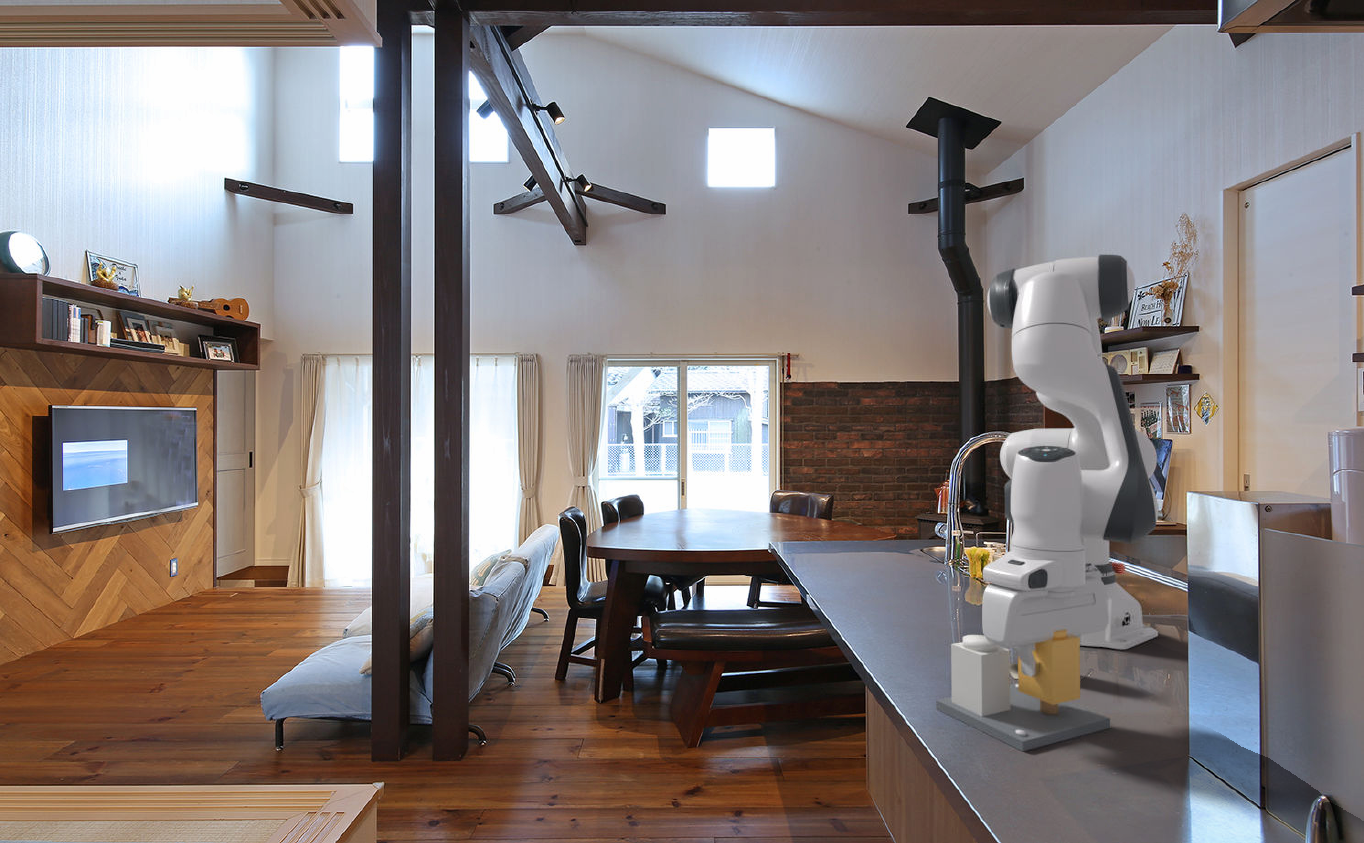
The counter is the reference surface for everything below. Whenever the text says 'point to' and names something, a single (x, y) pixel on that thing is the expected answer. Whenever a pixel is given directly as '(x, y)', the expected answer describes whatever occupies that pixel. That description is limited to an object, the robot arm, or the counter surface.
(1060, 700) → the yellow knob block
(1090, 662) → the counter surface
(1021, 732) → the plate
